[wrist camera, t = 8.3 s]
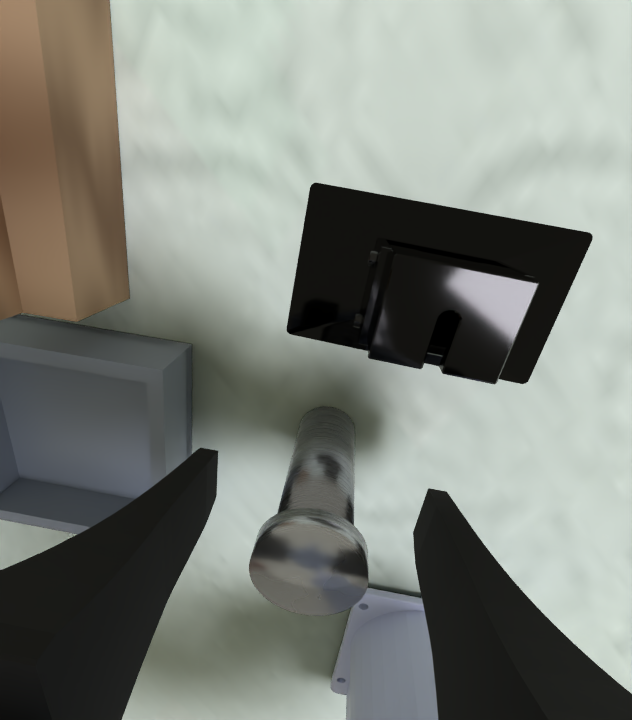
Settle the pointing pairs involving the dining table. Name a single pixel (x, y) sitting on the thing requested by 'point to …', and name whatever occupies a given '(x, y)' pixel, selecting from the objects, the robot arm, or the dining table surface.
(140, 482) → the tray
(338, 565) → the pin
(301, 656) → the dining table surface
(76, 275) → the bar
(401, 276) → the build plate
